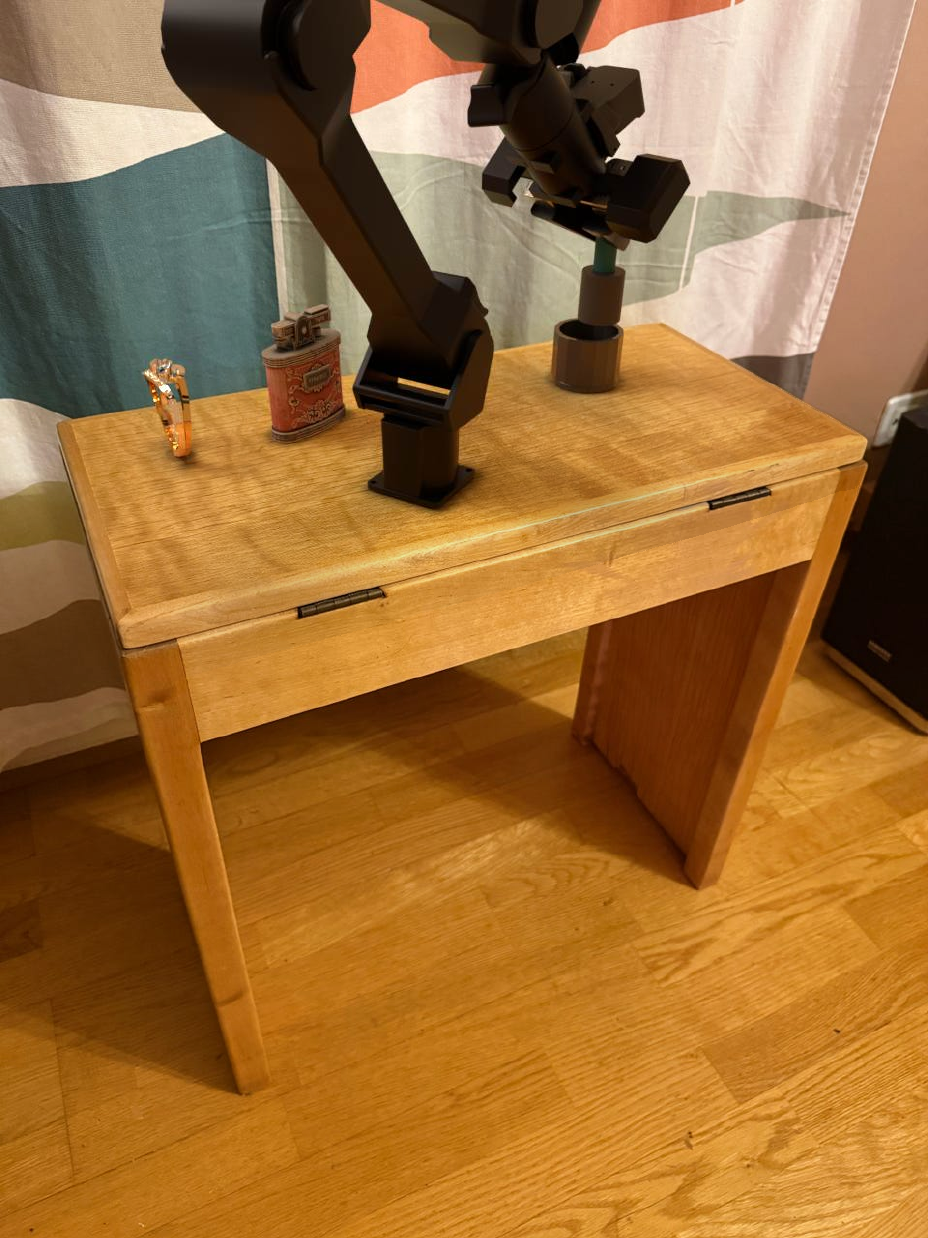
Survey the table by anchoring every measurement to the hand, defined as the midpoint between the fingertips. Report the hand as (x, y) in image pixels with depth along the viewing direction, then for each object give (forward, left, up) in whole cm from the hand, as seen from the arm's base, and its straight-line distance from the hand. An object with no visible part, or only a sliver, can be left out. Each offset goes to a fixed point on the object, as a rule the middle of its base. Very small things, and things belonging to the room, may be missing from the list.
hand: (616, 243), depth 83 cm
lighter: (-23, +18, -13) cm, 32 cm away
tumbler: (-1, +1, -13) cm, 13 cm away
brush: (-1, 0, -7) cm, 7 cm away
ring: (-33, +24, -13) cm, 43 cm away
